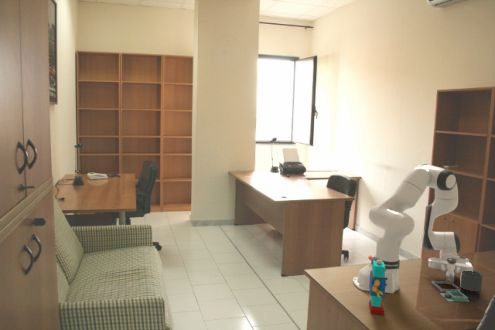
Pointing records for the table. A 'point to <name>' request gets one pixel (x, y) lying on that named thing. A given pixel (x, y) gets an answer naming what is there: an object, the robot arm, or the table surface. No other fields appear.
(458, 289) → the grey square frame
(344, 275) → the table surface
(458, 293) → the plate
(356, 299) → the table surface
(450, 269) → the salt shaker
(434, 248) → the robot arm
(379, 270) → the toy robot
